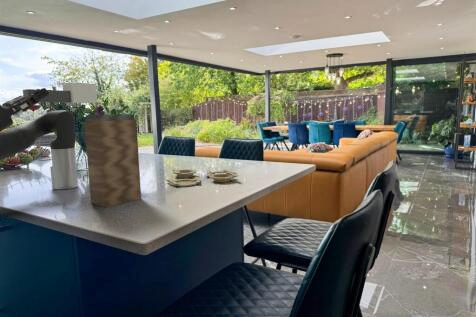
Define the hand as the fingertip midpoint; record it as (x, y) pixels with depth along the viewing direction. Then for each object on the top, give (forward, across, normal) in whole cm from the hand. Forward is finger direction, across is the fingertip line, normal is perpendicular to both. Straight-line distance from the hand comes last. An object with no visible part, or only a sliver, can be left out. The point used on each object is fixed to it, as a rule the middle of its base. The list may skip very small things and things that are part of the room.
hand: (43, 91), depth 99 cm
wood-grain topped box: (-1, 0, +44) cm, 44 cm away
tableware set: (+39, +1, +68) cm, 78 cm away
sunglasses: (+16, +56, +55) cm, 80 cm away
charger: (+3, 0, +5) cm, 6 cm away
